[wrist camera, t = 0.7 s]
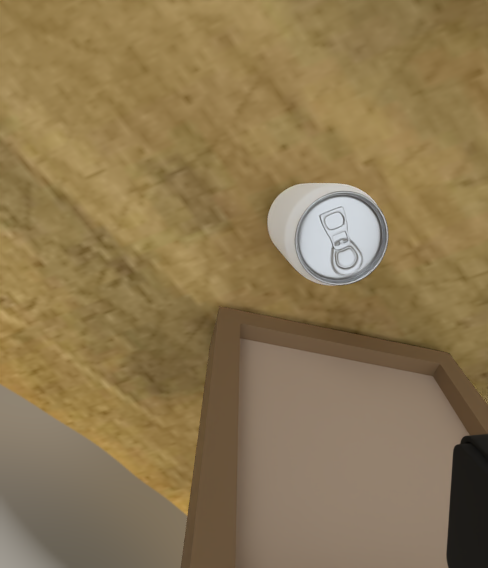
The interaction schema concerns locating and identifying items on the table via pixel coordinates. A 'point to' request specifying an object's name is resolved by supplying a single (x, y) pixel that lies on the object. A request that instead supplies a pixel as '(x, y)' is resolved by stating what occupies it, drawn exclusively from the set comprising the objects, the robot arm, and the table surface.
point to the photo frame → (324, 449)
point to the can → (328, 232)
